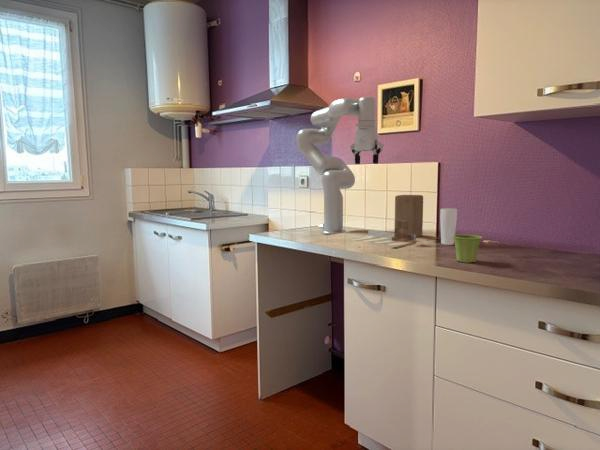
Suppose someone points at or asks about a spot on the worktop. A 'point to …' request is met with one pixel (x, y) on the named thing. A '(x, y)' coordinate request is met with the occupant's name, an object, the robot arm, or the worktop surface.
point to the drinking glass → (448, 225)
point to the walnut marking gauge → (401, 231)
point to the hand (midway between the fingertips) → (366, 163)
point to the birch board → (385, 238)
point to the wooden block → (410, 212)
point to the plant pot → (466, 247)
